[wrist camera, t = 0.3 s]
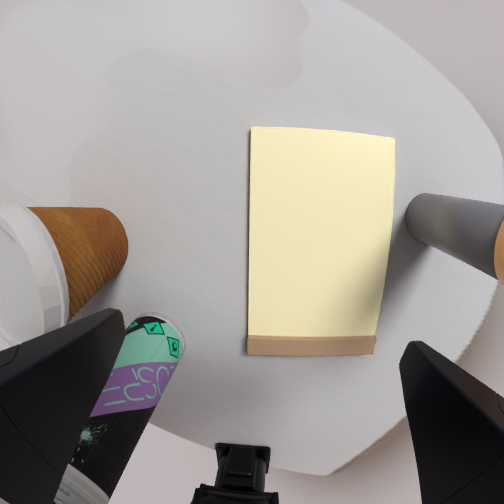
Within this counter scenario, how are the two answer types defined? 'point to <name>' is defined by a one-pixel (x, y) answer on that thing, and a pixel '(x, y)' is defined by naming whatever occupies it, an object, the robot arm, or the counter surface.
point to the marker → (461, 229)
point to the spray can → (122, 410)
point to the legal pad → (318, 240)
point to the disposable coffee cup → (53, 264)
